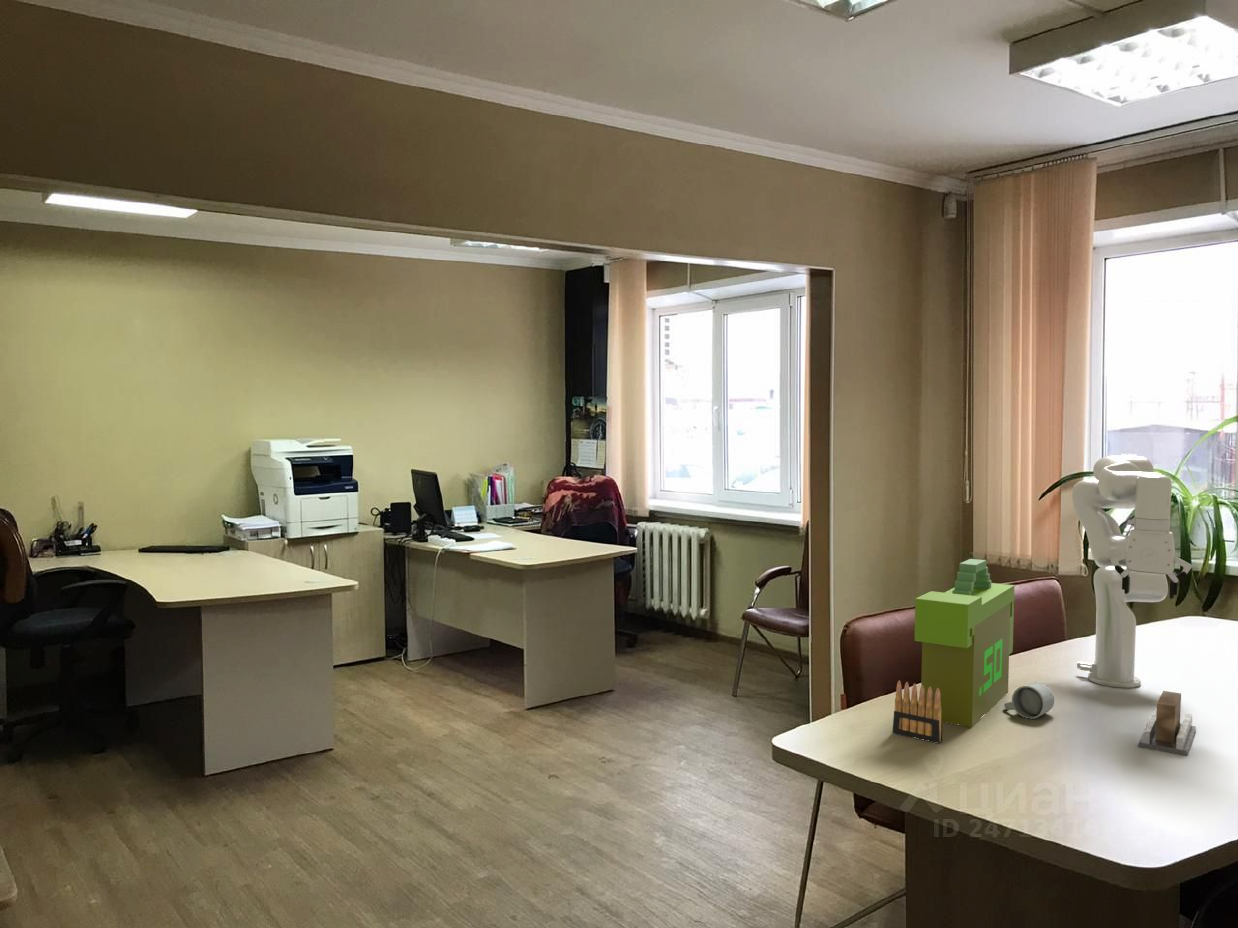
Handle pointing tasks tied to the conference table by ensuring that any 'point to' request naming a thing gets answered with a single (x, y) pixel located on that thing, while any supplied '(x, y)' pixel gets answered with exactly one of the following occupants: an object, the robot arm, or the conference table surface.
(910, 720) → the ammunition clip
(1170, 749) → the floor track
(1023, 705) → the ceramic mug
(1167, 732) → the door panel
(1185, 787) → the conference table surface
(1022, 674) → the conference table surface
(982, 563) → the ammo box
